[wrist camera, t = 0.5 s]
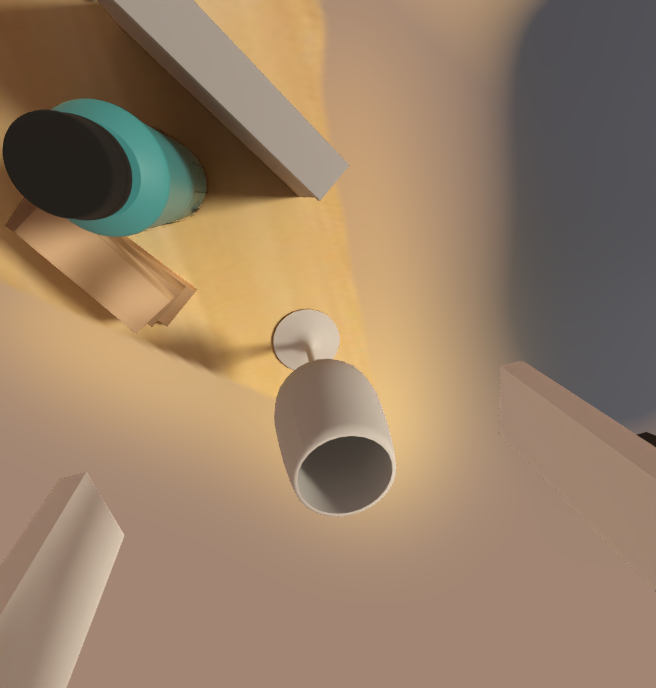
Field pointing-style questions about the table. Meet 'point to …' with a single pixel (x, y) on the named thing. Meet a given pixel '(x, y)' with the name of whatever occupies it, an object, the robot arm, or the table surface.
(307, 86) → the table surface
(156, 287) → the offcut top
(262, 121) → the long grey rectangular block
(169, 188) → the beverage bottle
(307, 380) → the wineglass
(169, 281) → the offcut middle
